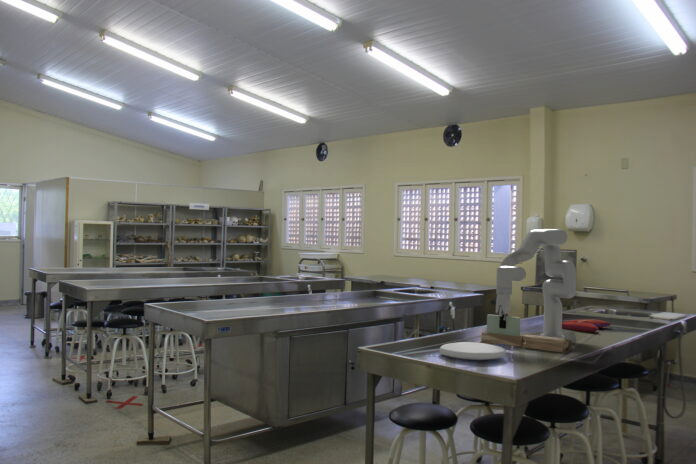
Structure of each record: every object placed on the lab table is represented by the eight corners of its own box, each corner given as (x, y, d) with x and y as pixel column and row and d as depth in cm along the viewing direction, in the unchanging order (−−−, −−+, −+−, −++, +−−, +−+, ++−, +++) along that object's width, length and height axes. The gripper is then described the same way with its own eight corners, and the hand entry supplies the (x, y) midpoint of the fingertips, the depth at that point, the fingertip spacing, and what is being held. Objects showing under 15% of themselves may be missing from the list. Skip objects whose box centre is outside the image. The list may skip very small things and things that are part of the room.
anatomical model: (611, 332, 328) (561, 328, 347) (611, 320, 328) (561, 317, 347) (598, 333, 304) (545, 329, 323) (598, 320, 305) (545, 317, 324)
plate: (428, 345, 233) (458, 339, 253) (429, 360, 233) (459, 352, 253) (486, 348, 215) (514, 341, 235) (487, 364, 214) (515, 355, 234)
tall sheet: (488, 337, 270) (488, 314, 271) (519, 341, 262) (520, 317, 262) (486, 338, 269) (487, 314, 269) (518, 342, 260) (519, 317, 260)
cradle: (486, 340, 275) (486, 330, 275) (525, 345, 264) (526, 335, 264) (480, 343, 267) (480, 333, 267) (520, 348, 256) (520, 337, 256)
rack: (529, 345, 265) (529, 332, 265) (571, 350, 254) (571, 336, 254) (521, 349, 253) (521, 335, 254) (565, 355, 242) (566, 340, 243)
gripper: (501, 289, 275) (500, 325, 274) (491, 291, 261) (490, 329, 261) (516, 290, 270) (515, 326, 270) (506, 292, 257) (506, 330, 257)
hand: (503, 327), depth 265 cm, fingers closed on tall sheet, 2 cm apart
